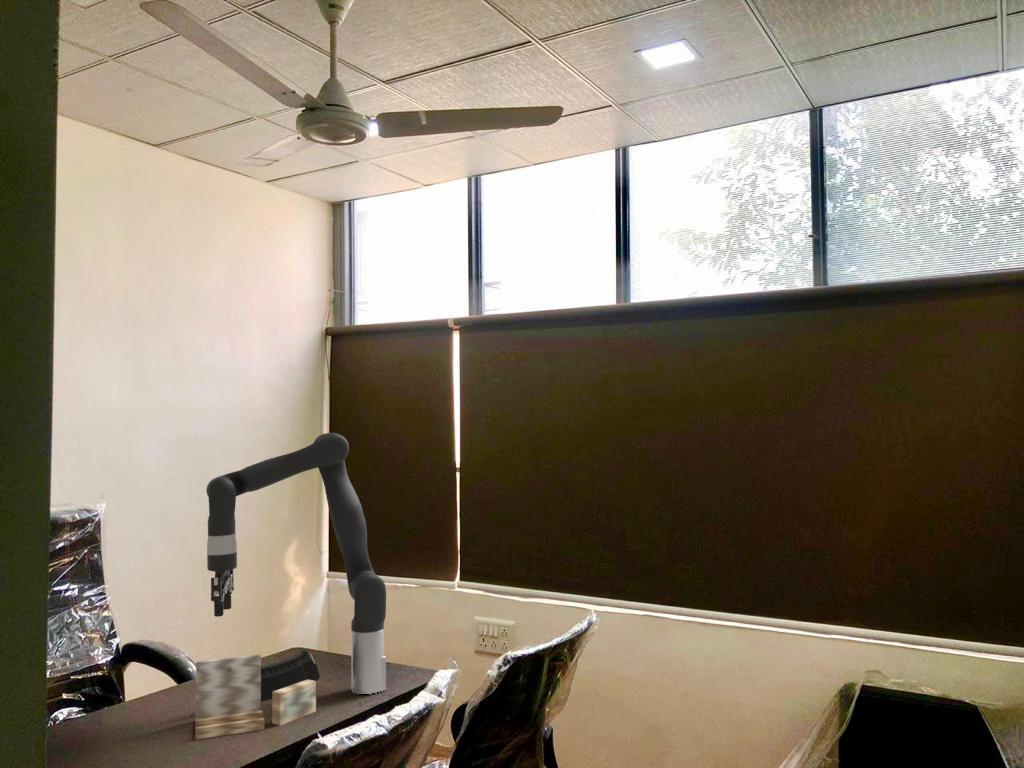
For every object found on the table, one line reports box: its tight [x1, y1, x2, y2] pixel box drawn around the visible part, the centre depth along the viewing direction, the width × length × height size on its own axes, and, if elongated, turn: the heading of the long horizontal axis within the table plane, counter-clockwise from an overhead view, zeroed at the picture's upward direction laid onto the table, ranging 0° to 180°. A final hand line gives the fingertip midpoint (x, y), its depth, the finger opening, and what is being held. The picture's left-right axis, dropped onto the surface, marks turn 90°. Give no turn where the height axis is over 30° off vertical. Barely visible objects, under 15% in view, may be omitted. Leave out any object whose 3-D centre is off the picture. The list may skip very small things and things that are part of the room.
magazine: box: [261, 649, 321, 702], centre depth 222 cm, size 17×3×30 cm
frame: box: [271, 679, 317, 726], centre depth 207 cm, size 12×3×8 cm, turn 147°
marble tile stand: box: [194, 654, 265, 740], centre depth 202 cm, size 16×14×15 cm
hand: (223, 612), depth 212 cm, fingers open, 8 cm apart
